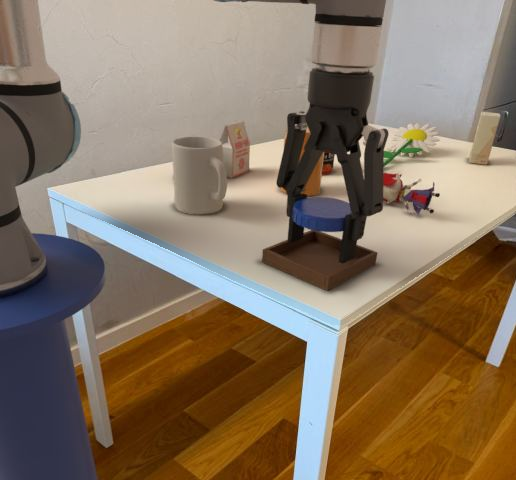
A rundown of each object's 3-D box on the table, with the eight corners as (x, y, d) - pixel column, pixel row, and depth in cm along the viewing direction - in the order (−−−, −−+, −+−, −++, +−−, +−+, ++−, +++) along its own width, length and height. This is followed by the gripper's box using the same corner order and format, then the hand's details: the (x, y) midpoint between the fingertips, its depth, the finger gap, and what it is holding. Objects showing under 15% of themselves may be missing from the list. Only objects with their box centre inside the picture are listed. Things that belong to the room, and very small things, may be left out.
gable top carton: (217, 174, 107) (217, 124, 101) (234, 168, 112) (235, 119, 106) (232, 178, 105) (232, 127, 100) (249, 171, 110) (250, 122, 104)
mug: (165, 204, 90) (161, 139, 84) (204, 195, 95) (203, 134, 89) (204, 224, 83) (202, 155, 77) (244, 214, 88) (246, 149, 81)
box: (486, 165, 123) (501, 116, 117) (468, 163, 124) (481, 114, 118) (486, 160, 127) (500, 112, 121) (468, 158, 128) (481, 111, 122)
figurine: (418, 220, 87) (355, 197, 96) (445, 222, 92) (383, 199, 102) (431, 183, 84) (365, 162, 94) (458, 186, 89) (393, 167, 99)
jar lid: (367, 222, 69) (369, 208, 68) (329, 237, 64) (331, 223, 63) (318, 205, 74) (319, 192, 73) (279, 218, 68) (280, 204, 67)
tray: (261, 262, 72) (262, 249, 71) (312, 241, 79) (313, 228, 78) (327, 291, 66) (329, 277, 64) (375, 265, 73) (378, 252, 72)
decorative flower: (404, 186, 113) (444, 144, 132) (406, 164, 110) (447, 124, 128) (351, 178, 119) (397, 139, 137) (352, 157, 116) (399, 120, 134)
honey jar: (272, 189, 100) (276, 127, 94) (297, 182, 105) (302, 122, 98) (303, 199, 96) (309, 134, 89) (327, 191, 101) (335, 129, 94)
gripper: (441, 77, 55) (399, 266, 68) (293, 57, 66) (281, 222, 79) (407, 82, 50) (368, 283, 63) (254, 59, 62) (247, 234, 75)
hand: (320, 249), depth 71 cm, fingers closed on jar lid, 8 cm apart
